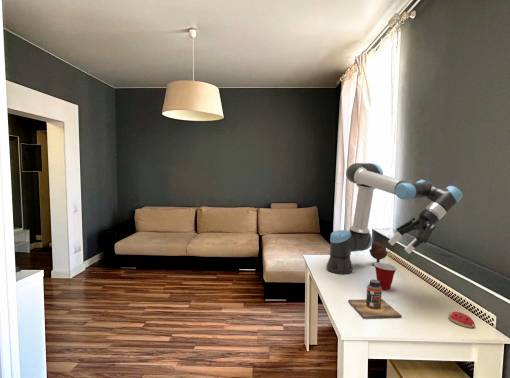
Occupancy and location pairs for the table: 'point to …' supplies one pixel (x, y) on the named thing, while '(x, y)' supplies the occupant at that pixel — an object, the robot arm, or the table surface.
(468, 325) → the ladybug figurine
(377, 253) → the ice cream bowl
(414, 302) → the table surface
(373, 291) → the supplement bottle
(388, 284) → the plastic cup
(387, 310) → the walnut board
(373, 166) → the robot arm
